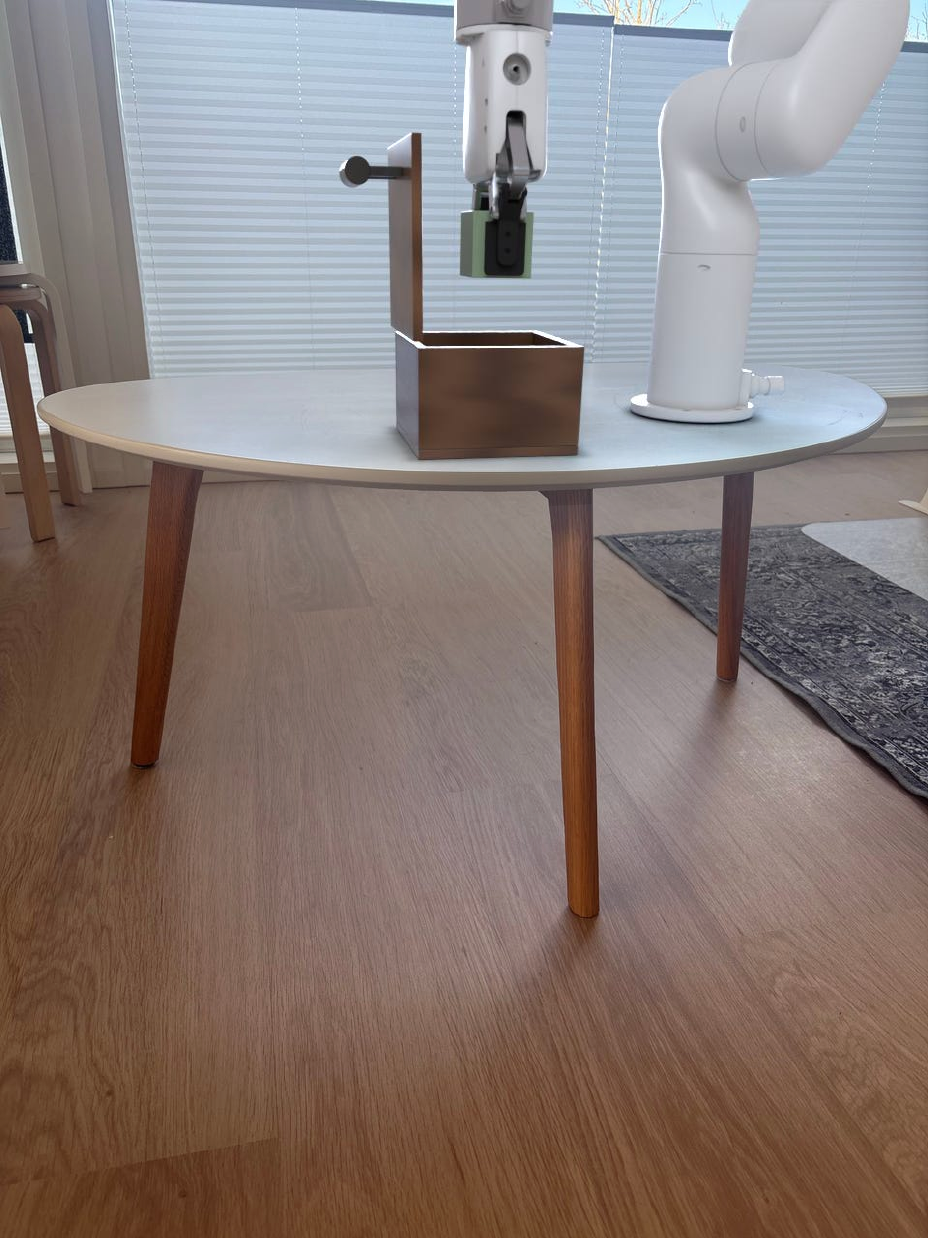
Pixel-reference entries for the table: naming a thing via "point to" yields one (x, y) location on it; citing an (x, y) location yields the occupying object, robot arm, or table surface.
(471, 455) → the chest
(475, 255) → the block
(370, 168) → the chest lid
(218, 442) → the table surface
